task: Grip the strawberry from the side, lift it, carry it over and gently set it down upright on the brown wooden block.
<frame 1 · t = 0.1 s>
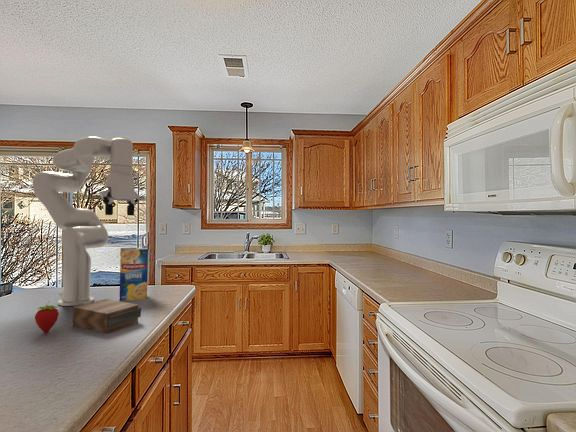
hand: (120, 215, 126), 37 cm above the countertop, tool pointing down, fingers open, 9 cm apart
brown wooden block: (105, 323, 110), on the countertop
blue yellow food box: (133, 298, 144), on the countertop
strawberry: (46, 333, 100), on the countertop
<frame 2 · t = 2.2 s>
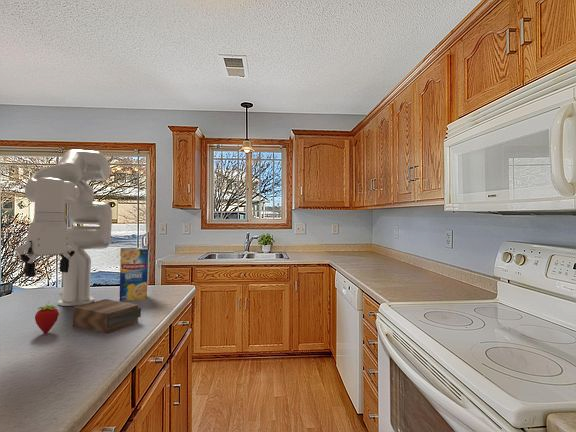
hand: (47, 274, 100), 18 cm above the countertop, tool pointing down, fingers open, 9 cm apart
nothing on the countertop moved.
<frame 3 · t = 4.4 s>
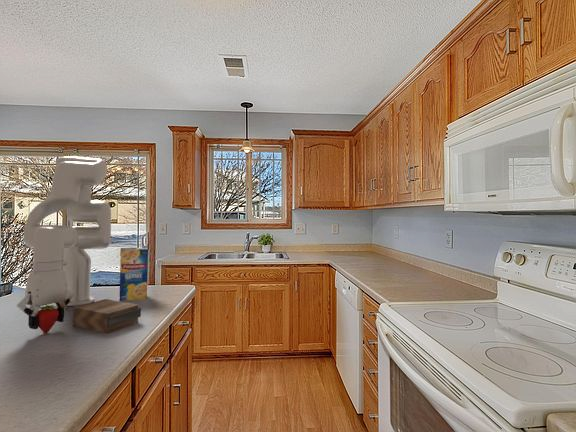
hand: (46, 324, 100), 3 cm above the countertop, tool pointing down, fingers closed on strawberry, 6 cm apart
strawberry: (46, 333, 100), on the countertop, touching gripper
everything else where it was.
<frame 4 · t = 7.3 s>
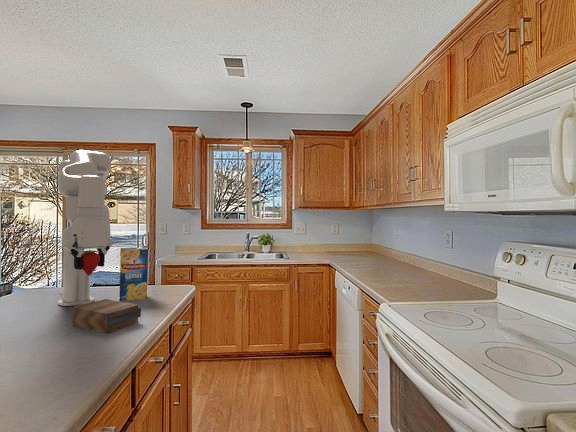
hand: (89, 267, 107), 19 cm above the countertop, tool pointing down, fingers closed on strawberry, 6 cm apart
strawberry: (89, 276, 107), point 17 cm above the countertop, touching gripper
everything else where it was.
when the fingers open (10 cm above the countertop, at t = 10.4 s): strawberry drops 1 cm, resting on brown wooden block.
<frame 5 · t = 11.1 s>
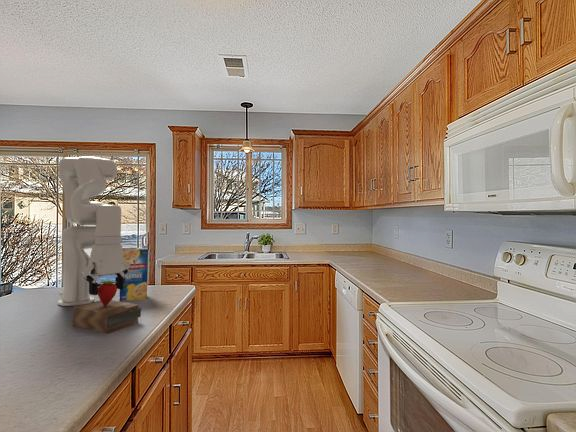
hand: (106, 291, 110), 11 cm above the countertop, tool pointing down, fingers open, 9 cm apart
strawberry: (105, 306, 110), point 6 cm above the countertop, touching brown wooden block
everything else where it was.
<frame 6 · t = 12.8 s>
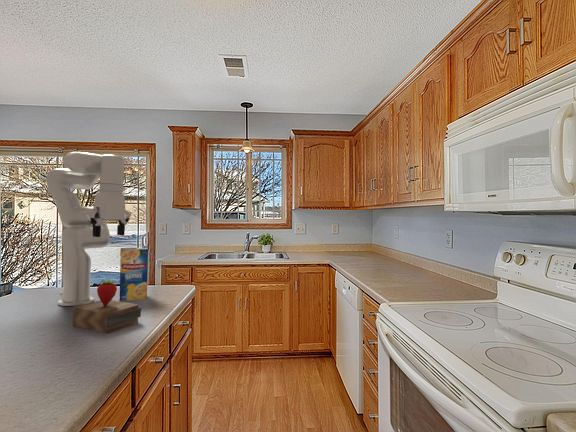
hand: (109, 236, 119), 29 cm above the countertop, tool pointing down, fingers open, 9 cm apart
nothing on the countertop moved.
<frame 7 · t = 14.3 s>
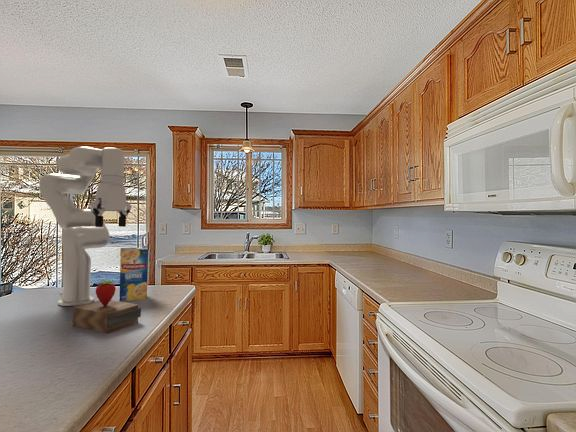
hand: (111, 226, 122), 32 cm above the countertop, tool pointing down, fingers open, 9 cm apart
nothing on the countertop moved.
at the end: strawberry inside the target area on the brown wooden block (0.1 cm from its centre), point 5.8 cm above the brown wooden block's base; strawberry tilted 2°; the gripper is holding nothing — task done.
